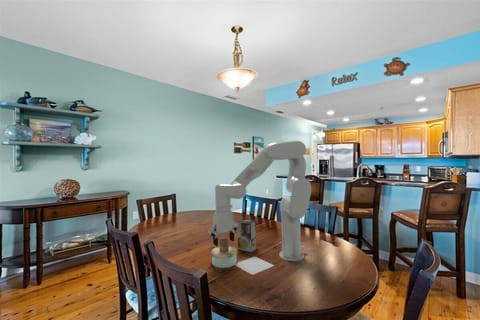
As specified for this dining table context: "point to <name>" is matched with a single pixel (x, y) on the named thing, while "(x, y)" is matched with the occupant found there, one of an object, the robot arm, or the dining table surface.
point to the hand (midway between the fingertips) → (224, 243)
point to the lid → (224, 250)
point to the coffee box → (246, 235)
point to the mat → (253, 265)
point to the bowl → (224, 262)
